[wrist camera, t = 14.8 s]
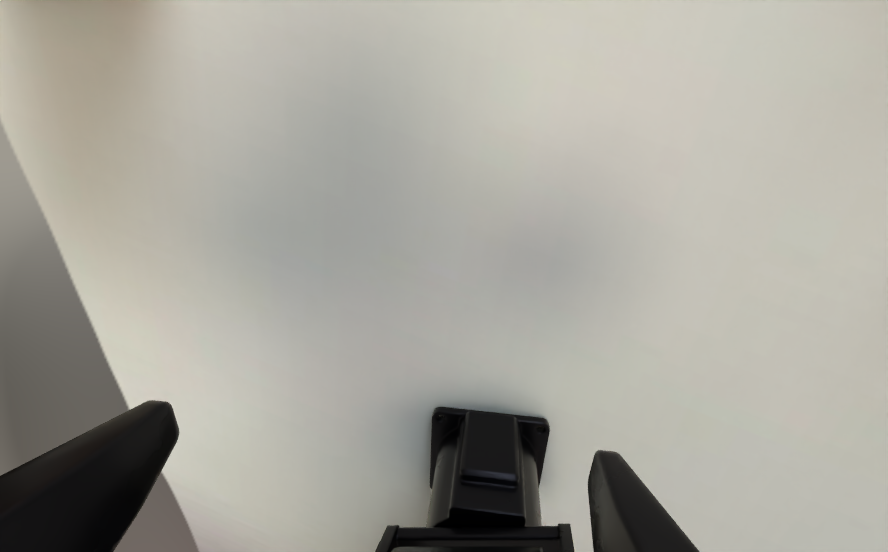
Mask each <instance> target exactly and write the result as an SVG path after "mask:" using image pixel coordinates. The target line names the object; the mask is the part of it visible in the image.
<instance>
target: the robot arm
mask: <svg viewBox="0 0 888 552" xmlns="http://www.w3.org/2000/svg"><path fill="white" fill-rule="evenodd" d="M439 415H442V416H444V417H440V416H439ZM540 426H541V427H542V428H537V427H540ZM549 432H550V429H549V423H548V421H547V420H546V419H543V418H538V417H529V416H520V415H510V414H501V413H492V412H483V411H474V410H465V409H456V408H447V407H438V408H436V409H435V410H434V412H433V416H432V439H431V468H430V488H431V489H432V493H431V499H430V506H429V512H428V518H427V524H426V527H403V528H400V527H399V526H398V525H396V526H387V528H386V530H385V532H384V534H383V536H382V539H381V541H380V542H379V544H378V546H377V549H376V551H375V552H574V546H573V540H572V534H571V527H570V524H558V526H542V524H541V512H540V500H539V484H540V479H541V474H542V468H543V463H544V458H545V453H546V447H547V442H548V437H549ZM178 436H179V428H178V424H177V421H176V418H175V415H174V411H173V408H172V406H171V404H169V403H168V402H163V401H154V400H151V401H147V402H145V403H143V404H141V405H139V406H137V407H135V408H133V409H131V410H129V411H127V412H125V413H123V414H121V415H119V416H117V417H115V418H113V419H111V420H109V421H107V422H105V423H103V424H101V425H99V426H98V427H96V428H94V429H92V430H90V431H88V432H86V433H84V434H82V435H80V436H78V437H76V438H74V439H72V440H70V441H68V442H66V443H64V444H62V445H60V446H58V447H56V448H54V449H52V450H50V451H48V452H47V453H44V454H42V455H41V456H39V457H37V458H35V459H33V460H31V461H29V462H27V463H25V464H23V465H21V466H19V467H17V468H15V469H13V470H11V471H9V472H7V473H5V474H3V475H1V476H0V552H113V551H114V550H115V548H116V547H117V545H118V543H119V542H120V540H121V539H122V537H123V536H124V534H125V533H126V531H127V530H128V528H129V527H130V525H131V524H132V521H134V519H135V517H136V516H137V514H138V512H139V511H140V509H141V507H142V506H143V504H144V502H145V500H146V499H147V497H148V495H149V493H150V491H151V489H152V487H153V486H154V484H155V482H156V480H157V478H158V476H159V474H160V472H161V471H162V469H163V467H164V465H165V463H166V461H167V459H168V457H169V455H170V454H171V452H172V450H173V448H174V446H175V444H176V442H177V440H178ZM588 494H589V505H590V516H591V527H592V538H593V548H594V552H699V551H698V549H697V548H696V547H695V546H694V544H693V543H692V542H691V541H690V540H689V538H688V537H687V536H686V535H685V533H684V532H683V531H682V530H681V529H680V527H679V526H678V525H677V524H676V522H675V521H674V520H673V519H672V518H671V516H670V515H669V514H668V513H667V511H666V510H665V509H664V508H663V507H662V505H661V504H660V503H659V502H658V500H657V499H656V498H655V497H654V496H653V494H652V493H651V492H650V491H649V489H648V488H647V487H646V486H645V485H644V483H643V482H642V481H641V480H640V478H639V477H638V476H637V475H636V474H635V472H634V471H633V470H632V469H631V467H630V466H629V465H628V464H627V463H626V461H625V460H624V459H623V458H622V457H621V455H620V454H618V453H617V452H612V451H603V450H598V451H596V453H595V455H594V459H593V463H592V467H591V471H590V474H589V479H588Z"/></svg>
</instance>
